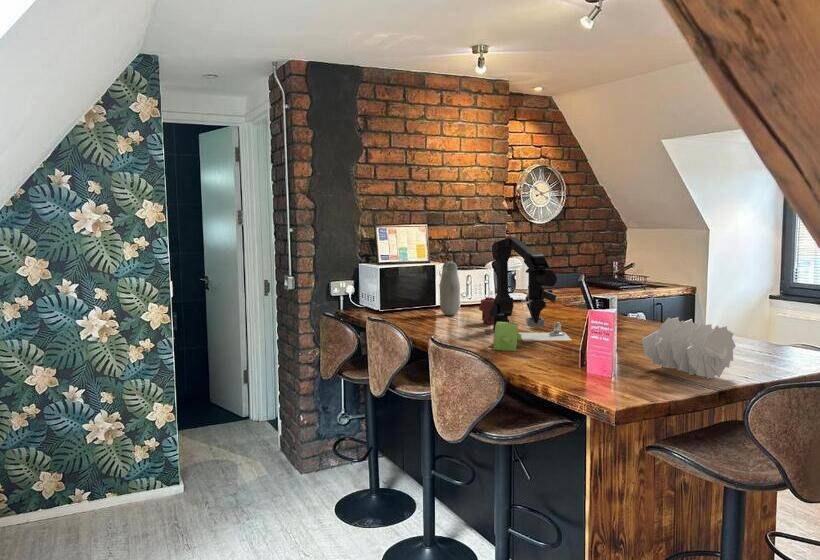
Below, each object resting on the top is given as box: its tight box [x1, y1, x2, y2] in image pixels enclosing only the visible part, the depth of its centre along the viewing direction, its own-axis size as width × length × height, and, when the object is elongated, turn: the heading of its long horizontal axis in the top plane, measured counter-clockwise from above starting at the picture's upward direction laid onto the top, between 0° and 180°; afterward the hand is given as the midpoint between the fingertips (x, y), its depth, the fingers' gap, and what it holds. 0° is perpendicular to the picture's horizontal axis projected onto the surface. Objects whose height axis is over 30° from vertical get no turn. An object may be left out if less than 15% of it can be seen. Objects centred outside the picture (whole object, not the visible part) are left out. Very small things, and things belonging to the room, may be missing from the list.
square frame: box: [525, 317, 545, 327], centre depth 269 cm, size 7×7×2 cm
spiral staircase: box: [641, 316, 737, 380], centre depth 210 cm, size 18×18×25 cm
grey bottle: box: [439, 260, 461, 317], centre depth 334 cm, size 10×10×28 cm
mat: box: [518, 332, 573, 342], centre depth 273 cm, size 20×17×1 cm
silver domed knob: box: [549, 321, 566, 336], centre depth 277 cm, size 6×6×5 cm
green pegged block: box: [493, 321, 522, 352], centre depth 252 cm, size 18×10×10 cm, turn 168°
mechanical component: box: [478, 296, 495, 326], centre depth 309 cm, size 12×10×10 cm
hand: (535, 321), depth 269 cm, fingers closed on square frame, 7 cm apart
